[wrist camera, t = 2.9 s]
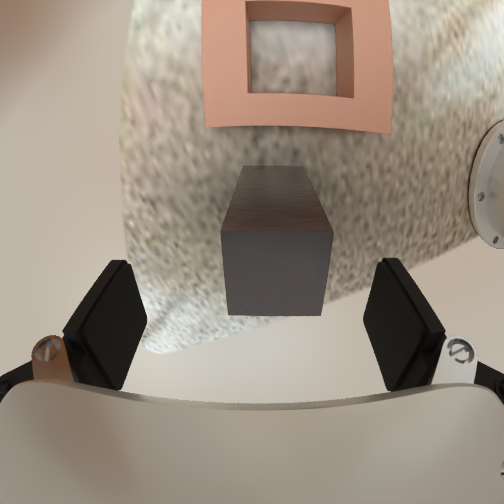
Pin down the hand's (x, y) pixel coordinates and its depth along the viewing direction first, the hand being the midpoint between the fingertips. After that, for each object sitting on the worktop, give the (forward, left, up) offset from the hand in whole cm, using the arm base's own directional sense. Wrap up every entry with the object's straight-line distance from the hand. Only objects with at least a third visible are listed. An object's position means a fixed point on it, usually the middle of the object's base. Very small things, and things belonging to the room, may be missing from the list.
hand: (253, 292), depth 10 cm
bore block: (+8, -12, -11) cm, 18 cm away
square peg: (-1, -1, -11) cm, 11 cm away
